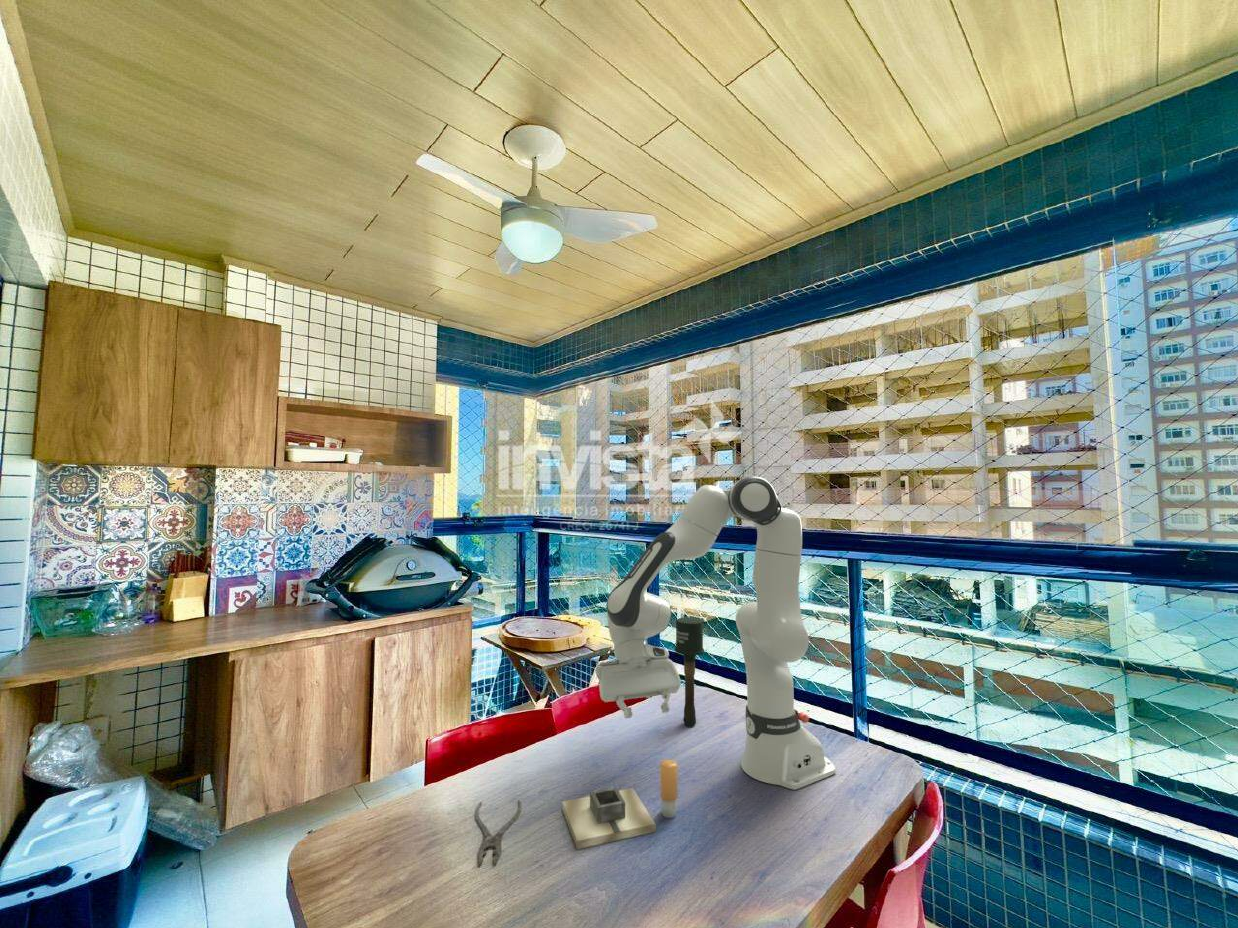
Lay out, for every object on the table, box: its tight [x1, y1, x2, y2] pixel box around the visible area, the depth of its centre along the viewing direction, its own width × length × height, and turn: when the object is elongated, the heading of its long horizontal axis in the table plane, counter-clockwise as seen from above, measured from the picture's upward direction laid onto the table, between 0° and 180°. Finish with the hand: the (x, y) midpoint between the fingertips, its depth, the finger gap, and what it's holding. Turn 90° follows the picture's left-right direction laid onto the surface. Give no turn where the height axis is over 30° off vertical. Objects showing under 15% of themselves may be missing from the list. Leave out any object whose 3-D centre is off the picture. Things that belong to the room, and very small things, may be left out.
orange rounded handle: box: [659, 759, 679, 819], centre depth 107 cm, size 4×4×10 cm
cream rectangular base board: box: [561, 786, 656, 850], centre depth 104 cm, size 16×13×4 cm
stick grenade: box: [674, 616, 705, 728], centre depth 149 cm, size 8×9×30 cm
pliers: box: [474, 799, 523, 868], centre depth 101 cm, size 10×1×20 cm
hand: (647, 714), depth 119 cm, fingers open, 8 cm apart
